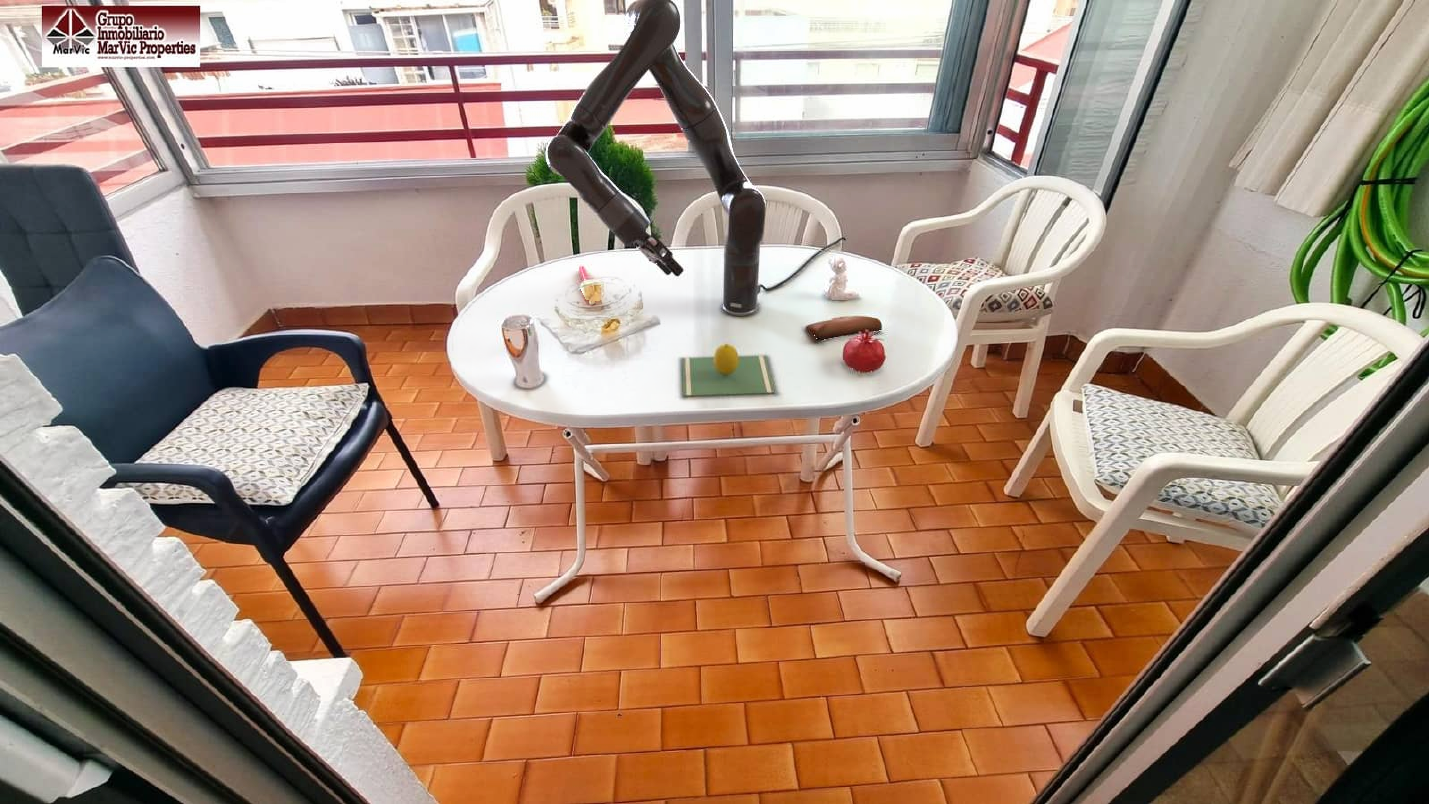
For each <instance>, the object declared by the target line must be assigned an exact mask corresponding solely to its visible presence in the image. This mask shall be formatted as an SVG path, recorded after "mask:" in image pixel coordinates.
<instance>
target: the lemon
mask: <svg viewBox="0 0 1429 804" xmlns="http://www.w3.org/2000/svg"><path fill="white" fill-rule="evenodd" d="M713 357H714V365H715V368H716V369H717V371H718V372H720V373H721V374H724V375H728V374H731V373H733V372H734V371H735V370H736V368H737V366H738V357H739V353H738V351H737V349H736V348H735V346H733V345H731V344H727V343H724V344H722V345H720V346H718V347H717V348H716V350H715V352H714V356H713Z"/></svg>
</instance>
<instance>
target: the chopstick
mask: <svg viewBox="0 0 1429 804" xmlns="http://www.w3.org/2000/svg"><path fill="white" fill-rule="evenodd" d="M578 269H579V273H580V276H581V280H582V281H583V280H584V279H587V278H588V279H589V277H588V273H587V271H586V267H585V266H584V265H582V264H580V265H579V267H578Z"/></svg>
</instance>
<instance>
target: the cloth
mask: <svg viewBox="0 0 1429 804" xmlns="http://www.w3.org/2000/svg"><path fill="white" fill-rule="evenodd" d="M681 363H682V366H681V367H682V393H683V395H682V396H683V398H692V397H722V396H748V395H749V396H750V395H775V394H776V391H775V386H774V383H773V378H772V376H771V375H772V374H771V371H770V367H769V363H768V360H767V356H766V355H753V356H751V355H750V356H738V366H737V368H736V370H735V371H734V372H733V373H731V374H728V375H724V374H721V373H720V372H718V371H717V369H716V368H715V365H714V356H713V357H684V358H681Z"/></svg>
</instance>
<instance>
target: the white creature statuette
mask: <svg viewBox="0 0 1429 804" xmlns="http://www.w3.org/2000/svg"><path fill="white" fill-rule="evenodd" d="M827 263H828V264H829V267H830V269H831V270H832V272H831V273H830V275H829V276H828V281H827V282H826V285H825V286H824V289H823V293H824V297H826V298H827V299H829V300H831V301H848V300H849V301H850V300H857V299H858V298H859V297H860V293H859V292H858V291H856V290H855V289H853V288H852V289H848V286H847V283H848V278H847V277H848V276H847V274H846V271H847V266H846V264H847V263H846V261H845V260H844V257H843V256H842V255H837V256H836V255H835V257H833V258H831V257H828V260H827ZM855 296H858V297H855Z"/></svg>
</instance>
